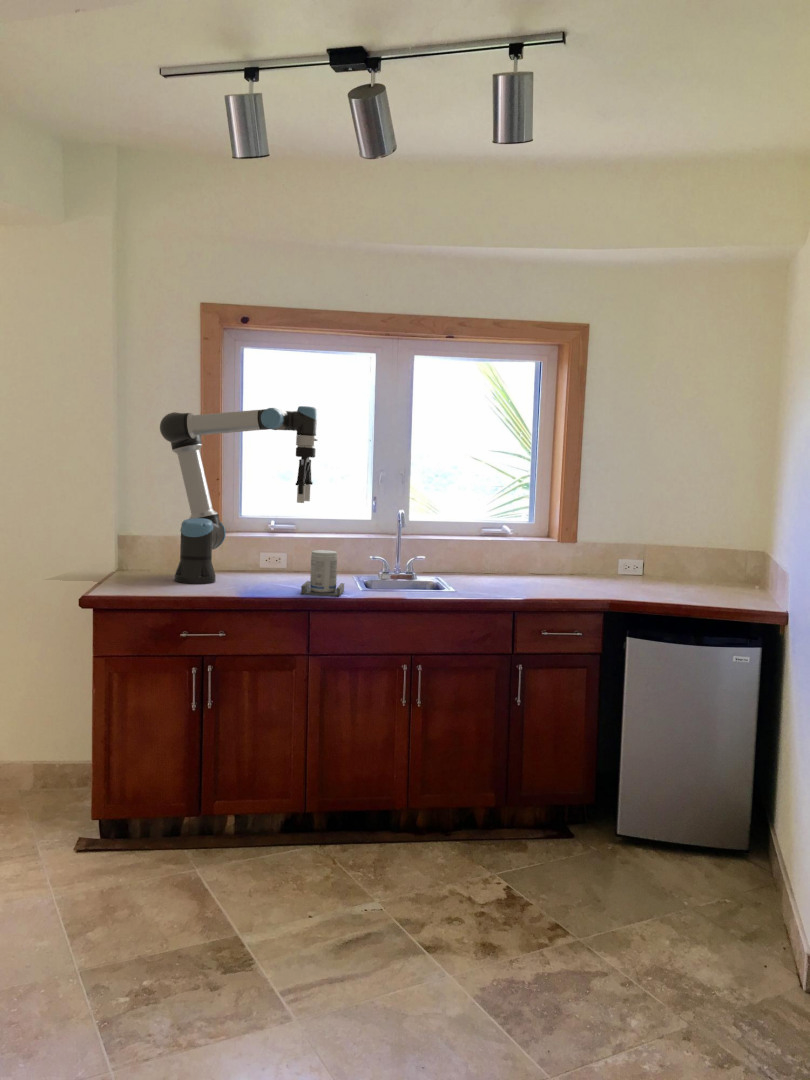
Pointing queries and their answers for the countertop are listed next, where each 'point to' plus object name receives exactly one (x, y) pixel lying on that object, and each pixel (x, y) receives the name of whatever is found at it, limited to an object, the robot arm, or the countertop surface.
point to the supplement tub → (323, 571)
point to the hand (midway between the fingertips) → (303, 502)
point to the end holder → (306, 590)
